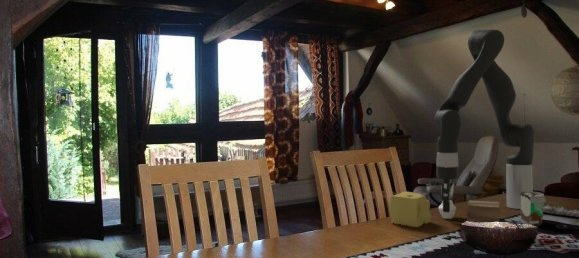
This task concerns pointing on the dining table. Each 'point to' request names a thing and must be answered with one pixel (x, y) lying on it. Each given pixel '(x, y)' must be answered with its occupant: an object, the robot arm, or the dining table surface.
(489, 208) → the walnut block
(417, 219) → the cheese
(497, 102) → the robot arm
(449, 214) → the white vase
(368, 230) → the dining table surface
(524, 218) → the food container
